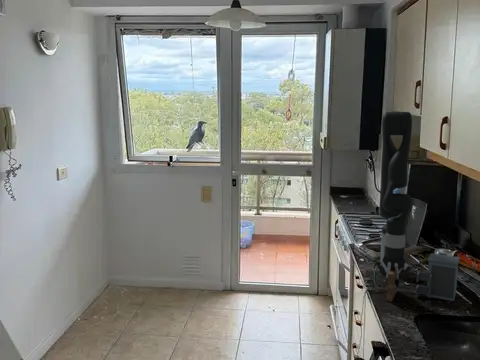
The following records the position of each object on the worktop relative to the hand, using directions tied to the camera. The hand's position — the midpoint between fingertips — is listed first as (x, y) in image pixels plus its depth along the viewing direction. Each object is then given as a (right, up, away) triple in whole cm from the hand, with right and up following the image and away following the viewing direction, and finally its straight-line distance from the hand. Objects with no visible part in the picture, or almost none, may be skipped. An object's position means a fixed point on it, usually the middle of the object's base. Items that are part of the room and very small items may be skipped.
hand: (392, 287), depth 190 cm
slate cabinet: (+17, -4, +1) cm, 18 cm away
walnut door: (0, -3, +1) cm, 4 cm away
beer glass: (+23, -2, +11) cm, 26 cm away
